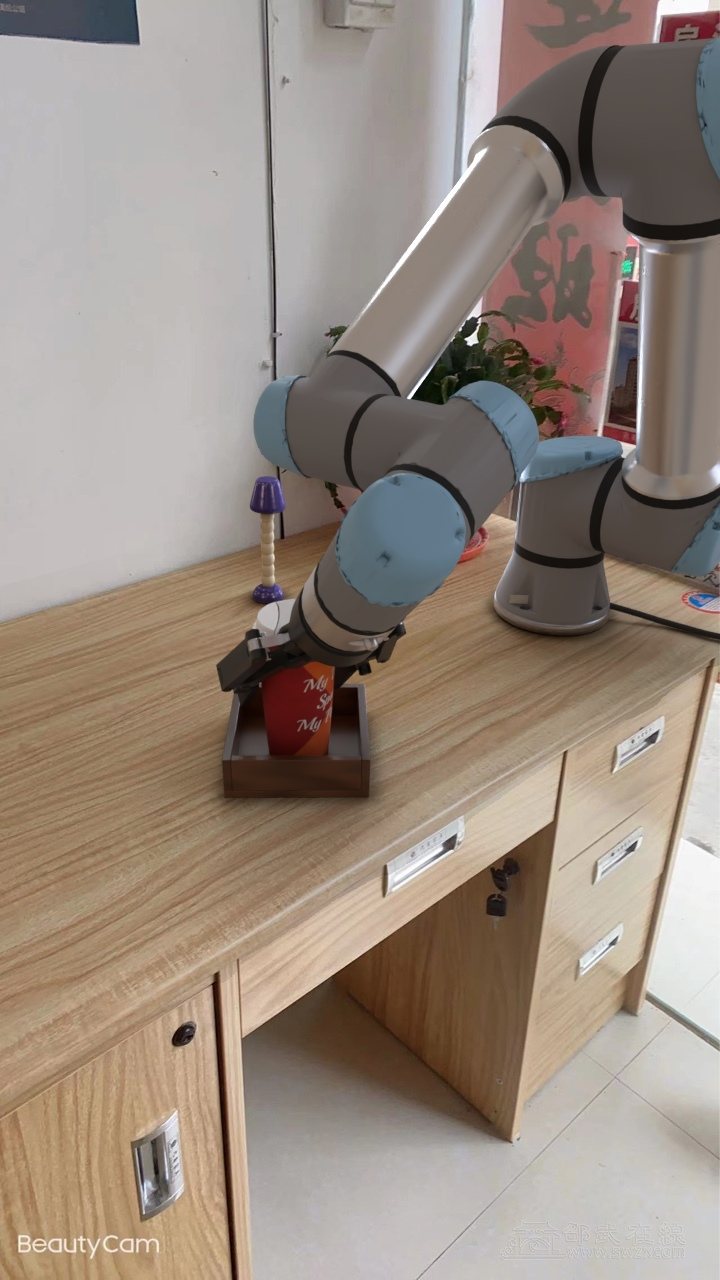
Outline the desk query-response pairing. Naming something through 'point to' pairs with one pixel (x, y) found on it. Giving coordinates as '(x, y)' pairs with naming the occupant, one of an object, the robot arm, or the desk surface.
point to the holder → (298, 774)
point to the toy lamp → (267, 534)
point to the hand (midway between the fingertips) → (287, 684)
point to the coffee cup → (295, 696)
